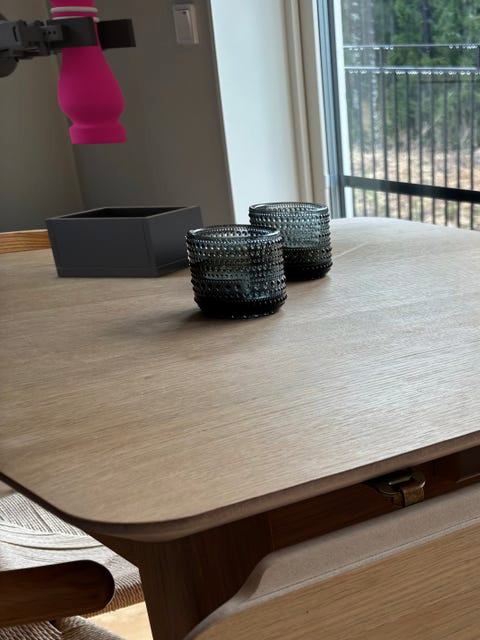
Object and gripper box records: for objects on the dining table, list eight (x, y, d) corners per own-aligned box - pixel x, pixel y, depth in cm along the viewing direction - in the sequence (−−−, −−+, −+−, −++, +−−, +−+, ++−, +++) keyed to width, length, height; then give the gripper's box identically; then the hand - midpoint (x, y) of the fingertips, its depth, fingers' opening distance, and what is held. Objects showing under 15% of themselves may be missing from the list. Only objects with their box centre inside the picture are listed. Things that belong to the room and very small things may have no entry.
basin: (57, 276, 110) (44, 219, 107) (116, 260, 120) (105, 207, 117) (158, 277, 107) (147, 218, 104) (208, 259, 118) (200, 205, 115)
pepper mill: (54, 145, 114) (9, -64, 104) (93, 142, 120) (54, -56, 110) (106, 144, 112) (65, -70, 102) (143, 141, 118) (108, -61, 108)
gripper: (41, 78, 127) (175, 71, 117) (-85, 79, 113) (56, 70, 103) (26, 10, 123) (164, -3, 114) (-106, 2, 110) (38, -15, 100)
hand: (112, 32), depth 109 cm, fingers closed on pepper mill, 5 cm apart
